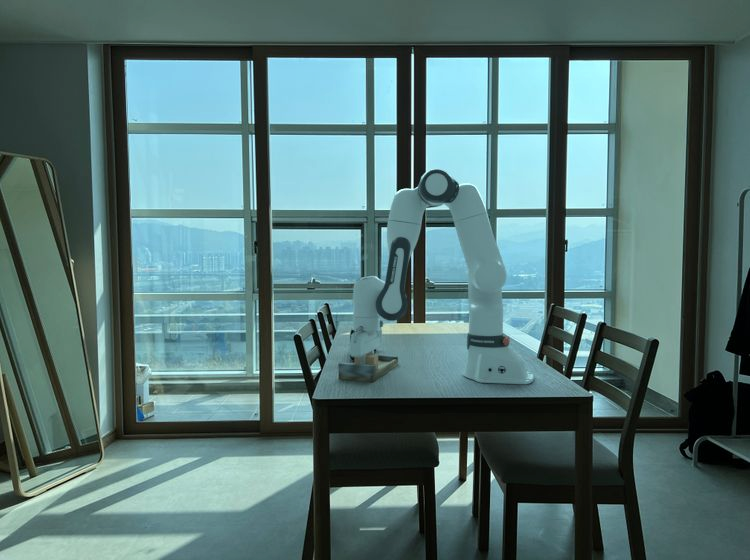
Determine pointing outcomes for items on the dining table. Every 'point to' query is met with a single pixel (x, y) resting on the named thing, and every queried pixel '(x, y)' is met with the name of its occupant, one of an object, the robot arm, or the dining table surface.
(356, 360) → the block
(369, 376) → the track
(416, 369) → the dining table surface
